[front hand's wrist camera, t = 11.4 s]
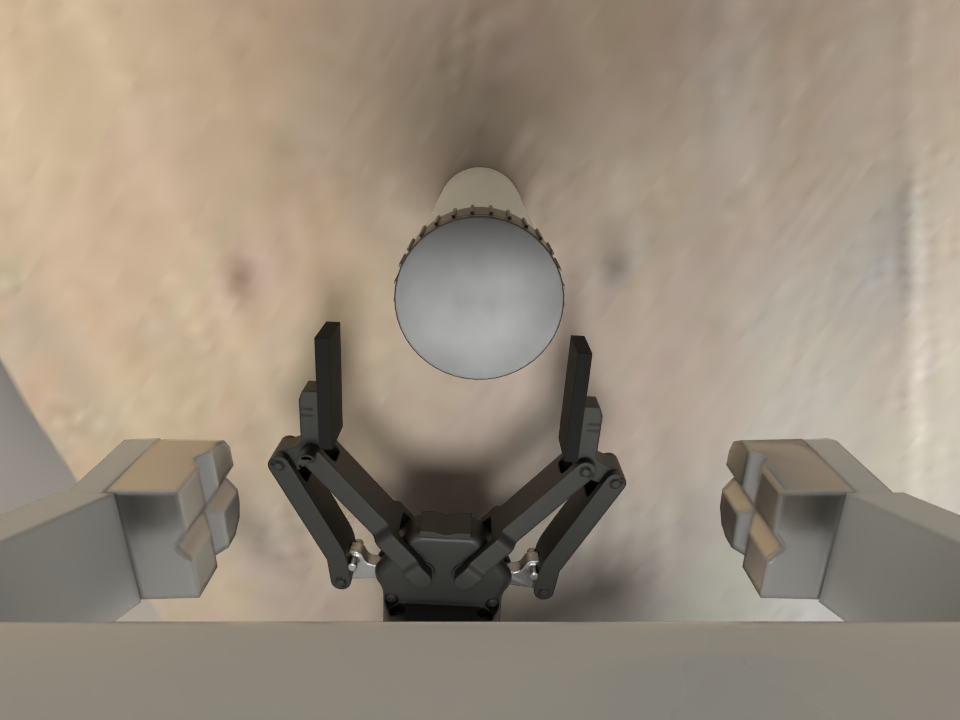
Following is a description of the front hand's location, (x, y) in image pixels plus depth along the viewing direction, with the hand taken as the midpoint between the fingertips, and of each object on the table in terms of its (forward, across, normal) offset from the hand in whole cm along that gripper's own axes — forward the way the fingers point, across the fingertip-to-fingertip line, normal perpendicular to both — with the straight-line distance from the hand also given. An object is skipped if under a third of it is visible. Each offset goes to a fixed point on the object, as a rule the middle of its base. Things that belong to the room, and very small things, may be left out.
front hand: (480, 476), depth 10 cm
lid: (+11, 0, 0) cm, 11 cm away
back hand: (+23, +1, +6) cm, 24 cm away
